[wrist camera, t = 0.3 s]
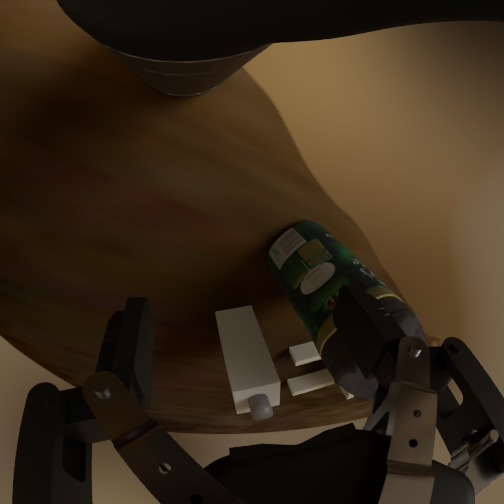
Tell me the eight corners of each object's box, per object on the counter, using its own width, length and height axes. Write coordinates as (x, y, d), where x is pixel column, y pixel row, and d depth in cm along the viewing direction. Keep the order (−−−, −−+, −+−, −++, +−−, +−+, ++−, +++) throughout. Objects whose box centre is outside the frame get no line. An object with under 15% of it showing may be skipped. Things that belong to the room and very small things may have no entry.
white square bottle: (215, 311, 34) (236, 409, 22) (251, 305, 35) (286, 398, 23) (219, 337, 36) (241, 429, 24) (253, 330, 37) (284, 419, 25)
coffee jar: (347, 259, 35) (441, 361, 19) (299, 298, 36) (370, 417, 20) (309, 205, 30) (427, 310, 14) (253, 251, 31) (324, 392, 15)
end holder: (289, 347, 40) (305, 382, 34) (345, 332, 42) (366, 363, 36) (287, 382, 45) (300, 414, 39) (336, 368, 46) (353, 397, 40)
